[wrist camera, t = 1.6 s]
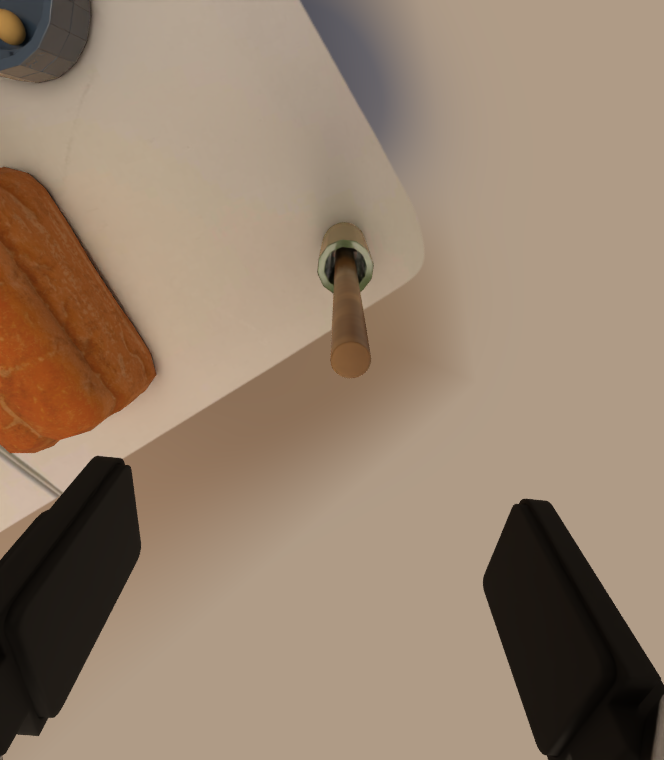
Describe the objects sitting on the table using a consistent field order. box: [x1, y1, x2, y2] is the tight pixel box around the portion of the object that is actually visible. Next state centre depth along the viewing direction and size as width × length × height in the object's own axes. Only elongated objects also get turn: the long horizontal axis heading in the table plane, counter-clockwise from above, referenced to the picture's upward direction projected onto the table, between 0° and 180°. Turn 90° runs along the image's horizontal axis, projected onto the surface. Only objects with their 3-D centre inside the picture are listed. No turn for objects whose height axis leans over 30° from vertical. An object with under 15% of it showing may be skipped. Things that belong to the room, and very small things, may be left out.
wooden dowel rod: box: [330, 247, 371, 378], centre depth 32 cm, size 2×2×30 cm
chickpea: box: [0, 9, 26, 45], centre depth 36 cm, size 2×2×2 cm
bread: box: [0, 167, 156, 453], centre depth 42 cm, size 14×27×15 cm, turn 21°
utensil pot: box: [317, 222, 374, 294], centre depth 40 cm, size 5×5×12 cm
